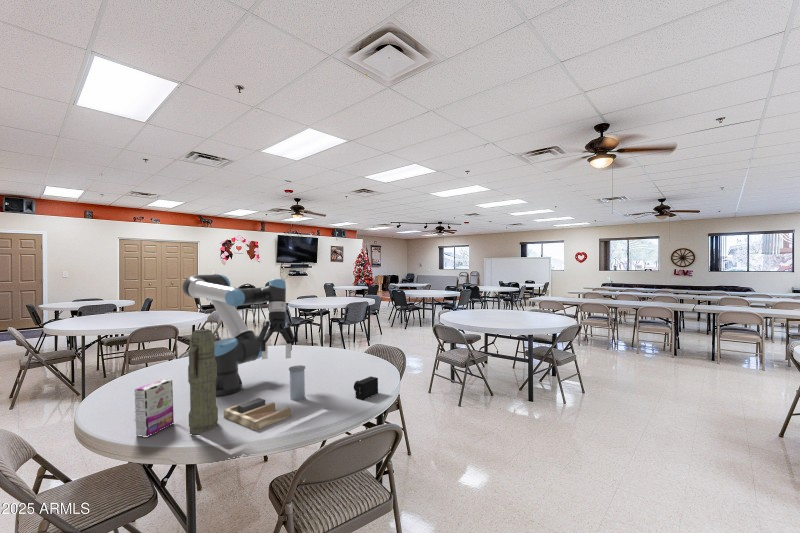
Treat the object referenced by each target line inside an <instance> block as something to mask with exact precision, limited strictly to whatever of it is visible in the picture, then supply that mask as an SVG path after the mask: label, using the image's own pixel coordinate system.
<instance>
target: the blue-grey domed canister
mask: <svg viewBox="0 0 800 533" xmlns="http://www.w3.org/2000/svg"><path fill="white" fill-rule="evenodd" d="M305 369H306V366H305V365H300V364H299V365H298V364H297V365H293V366H290V367H288V371H289V388H290V389H289V394H290V395H289V397H290V400H291V401H300V400H303V401H306V400H307V398H306V395H305V394H306V388H305V387H306V384H305V383H306V382H305V378H306V376H305V375H306V374H305Z"/></svg>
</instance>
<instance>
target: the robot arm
mask: <svg viewBox="0 0 800 533" xmlns="http://www.w3.org/2000/svg"><path fill="white" fill-rule="evenodd" d="M230 281H231V280H229V278H228V277H227V276H226V275H224V274H217V273H215V274H195V275H190V276H188V277H186V279H184V281H183V283H182V285H181V288H182V292H183V293H184V295H186V296H188V297H190V298H194V299H199V298H203V299H206V301H207V303H210V304H212V305H213V307H214V309H215V310H216V312H217V314H218V316H219V318H220V319H221V322H222V324H223V325H224V327H225V328H226V330H227V332H228V334H229V335H230V338H224V339H219V340H216V341H214V346H215V351H214V355H215V360H216V363H217V378H216V397H223V396H228V395H232V394H235V393H238V392H239V391H241V390H242V389H243V382H242V379H241V377H240V374H239V365H242V364H244V363H250V362H253V361H256V360H258V359H261V360H268V356H269V355H268V353H269V350H268V348H269V345H268V343H267V342H268V340H269V339H270V338H271V337H272V336H273V333H279V334H281V336H282V337H283V339H284V342H286V343H285V359H291V358H292V350H293V344H294V343H296V339H295V336H294V334H293V331H292V330H293V329H292V328H291V323H290V322H285V320H286V318H287V317H286V316H287V313H286V310H287V309H286V307H287V306H286V303H287V302H286V301H287V299H286V298H287V293H286V292H287V285H286V281H285V280H284V279H281V278H273V279H270V280H269V282H268V285H266V286H263V287H252V288H251V287H250V288H249V287H247V288H237V287H233V286H231V282H230ZM264 303H268V312H269V313H268V320H267V321H263V325H262V328H261V330H260V333H259V335H256V334H255V332H254V331H253V330H252V329H249V328H248V327H247V324H246V323H245V321H244V320H243V318H242V316H241V315H240V312H239V311H238V309H237V308H236V307H240V306H248V305H261V304H264Z"/></svg>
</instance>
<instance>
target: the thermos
mask: <svg viewBox="0 0 800 533" xmlns="http://www.w3.org/2000/svg"><path fill="white" fill-rule="evenodd" d="M214 342H215V336H214V332H213V331H212V330H211V329H210V328H209V329H207V328H204V329H196V330H194V331H192V333H191V335H190V338H189V351H188V365H187V382H188V384H189V400H190V401H189V404H190V407H189V408H190V410H189V412H188V427H189V432H190V433H189V435H190V434H192V435H200V433H204V432H208V431H210V430H212V429H215V428H216V427H217V426H218V421H219V411H218V410H219V408H218V406H217V396H216V378H217V363H216V360H215V355H214V351H215V346H214ZM192 435H191V436H192Z"/></svg>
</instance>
